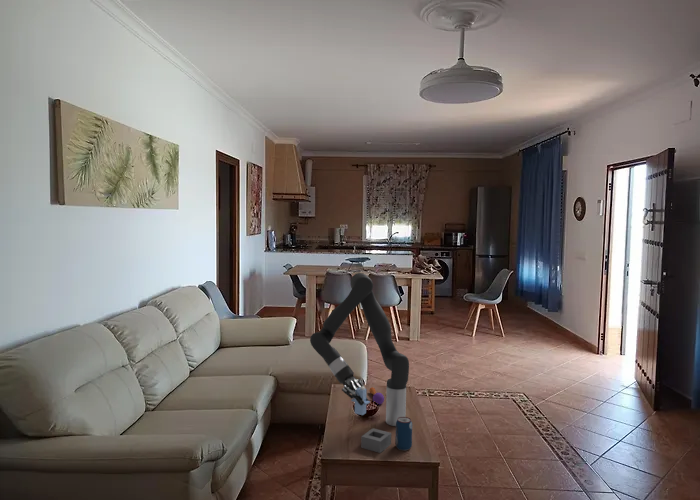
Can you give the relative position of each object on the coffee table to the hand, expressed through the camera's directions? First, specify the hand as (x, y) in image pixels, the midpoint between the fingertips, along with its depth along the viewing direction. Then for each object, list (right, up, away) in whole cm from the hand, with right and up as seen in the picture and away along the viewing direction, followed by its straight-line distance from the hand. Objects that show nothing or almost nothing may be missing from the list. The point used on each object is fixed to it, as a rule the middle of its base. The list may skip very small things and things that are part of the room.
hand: (364, 402), depth 210 cm
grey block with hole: (+5, -17, -3) cm, 18 cm away
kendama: (+7, -15, +53) cm, 56 cm away
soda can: (+16, -18, -4) cm, 24 cm away
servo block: (-2, -5, +1) cm, 5 cm away
